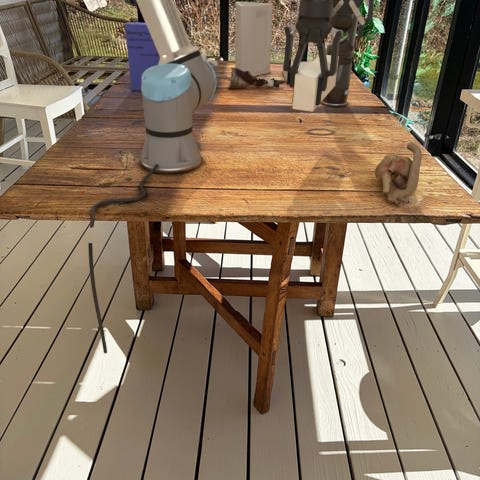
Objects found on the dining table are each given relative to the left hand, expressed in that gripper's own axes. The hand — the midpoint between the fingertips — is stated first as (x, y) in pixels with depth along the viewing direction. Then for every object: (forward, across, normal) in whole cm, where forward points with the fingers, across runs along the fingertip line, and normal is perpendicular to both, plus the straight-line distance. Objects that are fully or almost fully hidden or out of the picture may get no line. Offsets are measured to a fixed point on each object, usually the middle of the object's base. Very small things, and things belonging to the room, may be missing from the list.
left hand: (306, 102), depth 118 cm
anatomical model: (+15, -25, +12) cm, 31 cm away
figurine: (+16, +40, -68) cm, 80 cm away
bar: (+1, 0, -10) cm, 10 cm away
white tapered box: (+16, +47, -96) cm, 108 cm away
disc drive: (+15, +23, -94) cm, 98 cm away
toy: (+16, +80, -93) cm, 124 cm away
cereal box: (+16, +72, -50) cm, 89 cm away
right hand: (-12, -3, -21) cm, 24 cm away
